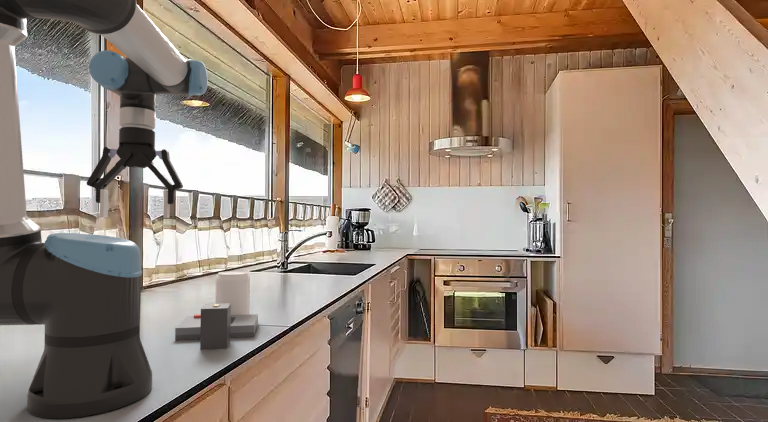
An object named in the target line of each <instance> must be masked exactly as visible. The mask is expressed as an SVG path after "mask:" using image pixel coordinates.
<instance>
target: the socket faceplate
mask: <svg viewBox="0 0 768 422" xmlns="http://www.w3.org/2000/svg"><path fill="white" fill-rule="evenodd" d="M258 325H259V314H258V313H256V314H251V313H250V314H249V315H231V335H230V339H231V338H254V337H255V335H256V331H257V329H258ZM174 329H175V332H174V334H175V335H174V340H175V341H180V340H181V341H183V340H200V331H201V313H195V314H193V315H192V316H186V317H185V318H184V319H183V320H182V321H181V322H180V323H179V324H178V325H177V326H176V327H175V328H174Z"/></svg>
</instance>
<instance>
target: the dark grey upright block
mask: <svg viewBox="0 0 768 422" xmlns="http://www.w3.org/2000/svg"><path fill="white" fill-rule="evenodd" d="M200 314H201V331H200V339H199V340H200V341H199V342H200V343H199V349H200V350H201V351H202V350H203V351H204V350H206V351H207V350H221V349H224V350H226V349H228V347H229V346H230V343H231V338H230V335H231V303H225V304H215V303H205V304H204V305H203V306H202V307H201V308H200Z"/></svg>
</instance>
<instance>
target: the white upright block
mask: <svg viewBox="0 0 768 422" xmlns="http://www.w3.org/2000/svg"><path fill="white" fill-rule="evenodd" d="M250 277H251V276H250V275H249V272H248V271H243V270H231V271H230V270H229V271H228V270H227V271H219V272H218V273H217V276H216V277H215V303H214V304H225V303H231V315H250V310H251V309H250V302H251V301H250V293H251V289H250V288H251V278H250Z"/></svg>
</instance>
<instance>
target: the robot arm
mask: <svg viewBox="0 0 768 422" xmlns="http://www.w3.org/2000/svg"><path fill="white" fill-rule="evenodd" d="M137 3H138V2H137V0H0V326H34V325H36V326H37V325H38V326H39V325H43V326H44V347H43V348H44V350H43V352H42V355H41V356H40V357H41V358H40V360H39V362H38V365H37V368H36V370H35V372H34V375H33V377H32V379H31V382H30V384H29V385H30V386H29V388H28V391H27V399H26V400H27V403H26V406H27V407H26V409H27V412H28V413H29V414H31V415H33V416H36V417H40V418H47V419H69V418H80V417H86V416H92V415H97V414H102V413H106V412H110V411H113V410H117V409H120V408H123V407H126V406H127V405H132V404H134V403H135V402H137V401H139V400H141V399H142V398H144V397H146V395H148V394H149V393H150V392H151V390H152V389H153V371H152V368H151V366H150V363H149V359H148V357H147V354H146V352H145V348H144V346H143V344H142V341H141V332H140V331H141V301H142V300H141V295H142V275H143V268H142V261H141V260H142V259H141V249H140V247H139V246H138V244H136V243H135V242H134V241H132V240H130V239H126V238H121V237H115V236H109V235H101V234H92V233H91V234H90V233H76V232H75V233H74V232H57V233H54V232H53V233H51V234H48V236H47V237H46V240H45V241H44V242H42V241H43V239H42V228H41V226H40V225H39V224H37V223H36V222H34V221H33V220H32V219H30V217H28V214H27V200H26V187H25V185H26V184H25V174H24V173H25V172H24V162H23V160H24V159H23V147H22V135H21V134H22V133H21V121H20V107H19V106H20V105H19V95H18V94H19V93H18V92H19V90H18V79H17V77H18V76H17V65H16V54H15V53H16V51H15V48H16V46H17V45H19V44H20V43H21V42H23V41H25V40H26V39H27V38H28V30H27V19H29V20H30V19H31V20H32V19H34V20H35V19H36V20H44V19H46V20H55V21H57V20H58V21H63V22H70V23H74V24H77V25H78V26H80V27H81V28H82V29H84V30H85V31H86V32H88V33H92V34H95V35H100V36H102V37H104V39H105V40H107V41H108V42H109V43H111V45H113V47H115V48H117V50H119V51H120V52H121V53H122V54H123V55H121V54H120V53H117V52H115V51H113V50H107V49H106V50H101V51H98V52H96V53H95V54H94V55H93V56H91V59H90V60H89V63H88V72H89V75H90V76H91V78H92V79H93V81H95V83H97V84H98V85H100V86H101V87H102V88H103V89H106V90H108V91H110V92H112V93H114V94H115V95H117V96H119V123H118V124H119V126H120V128H119V129H118V130H119V131H118V147H117V148H111V147H107V146H105V147H103V149H102V156H101V158H100V160H99V161H98V162H97V164H96V166H95V168H94V169H93V171H92V173H91V175H90V176H89V178H88V180H87V181H86V185H87V186H88V187H91V188H94V189H95V203H97V204H99V218H108V215H109V190H108V189H106V187H108V185H110V183H112V181H113V180H114V179H115V178H116V177H118V176H119V174H121V172H122V171H123V170H125V169H127V168H131V169H136V168H140V169H145V168H148V169H149V170H150V171H151V172H152V173H153V174H154V175H155V177H156V178H157V179H158V180H159V182H161V184H162V185H163V186H165V188H166V189H167V190H163V212H162V213H163V219H170V215H171V213H170V210H171V205H174V204H175V196H176V195H175V193H176V191H177V190H181V189H183V188H184V186H183V182H182V181H181V179H180V177H179V176H178V173H177V172H176V169H175V168H174V165H173V163H172V162H171V157H170V152H169V151H168V150H167V149H166V148H165V149H164V148H163V149H161V150H156V148H155V147H156V145H155V144H156V132H155V131H154V129H156V102H157V101H156V98H157V97H156V95H169V96H188V97H191V96H202V95H204V94H206V92H207V90H208V89H207V88H208V84H209V83H208V79H209V78H208V72H207V68H206V65H205V63H203V62H202V61H201V60H196V59H192V58H189V59H186V58H185V57H183V56H182V54H181V53H180V52H179V50H178V49H176V47H175V46H174V45H173V44H172V42H170V40H169V39H168V38H167V37H166V35H164V34H163V32H162V31H161V30H160V29H159V28H158V27H157V25H156V24H155V23H154V22H153V20H151V19H150V17H148V15H147V14H146V13H145V12H144V10H143V9H142V8H141V7H140V5H138V4H137ZM124 55H125V56H126V57H124ZM116 155H117V156H118V158H119V160H118V161H117V162H116V163H115V164H114V166H112V168H111V169H110V170H109V171H108V172H106V169H108V166H109V164H110V162H111V161H112V159H113V158H114V157H115V156H116ZM157 157H158V158H159V159H160V160H162V162H163V164H164V167H165V168H166V171H167V172H168V174H169V176H170V178H171V180H172V182H173V183H174V184H172V183H171V182H170V180H169V179H168V178H167V177H166V175H165V174H163V172H162V170H160V169H159V168H158V167H157V164H155V162H153V161H154V160H155V159H156V158H157ZM104 172H106V174H105V175H104V176H103V174H104ZM102 176H103V177H102Z"/></svg>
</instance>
